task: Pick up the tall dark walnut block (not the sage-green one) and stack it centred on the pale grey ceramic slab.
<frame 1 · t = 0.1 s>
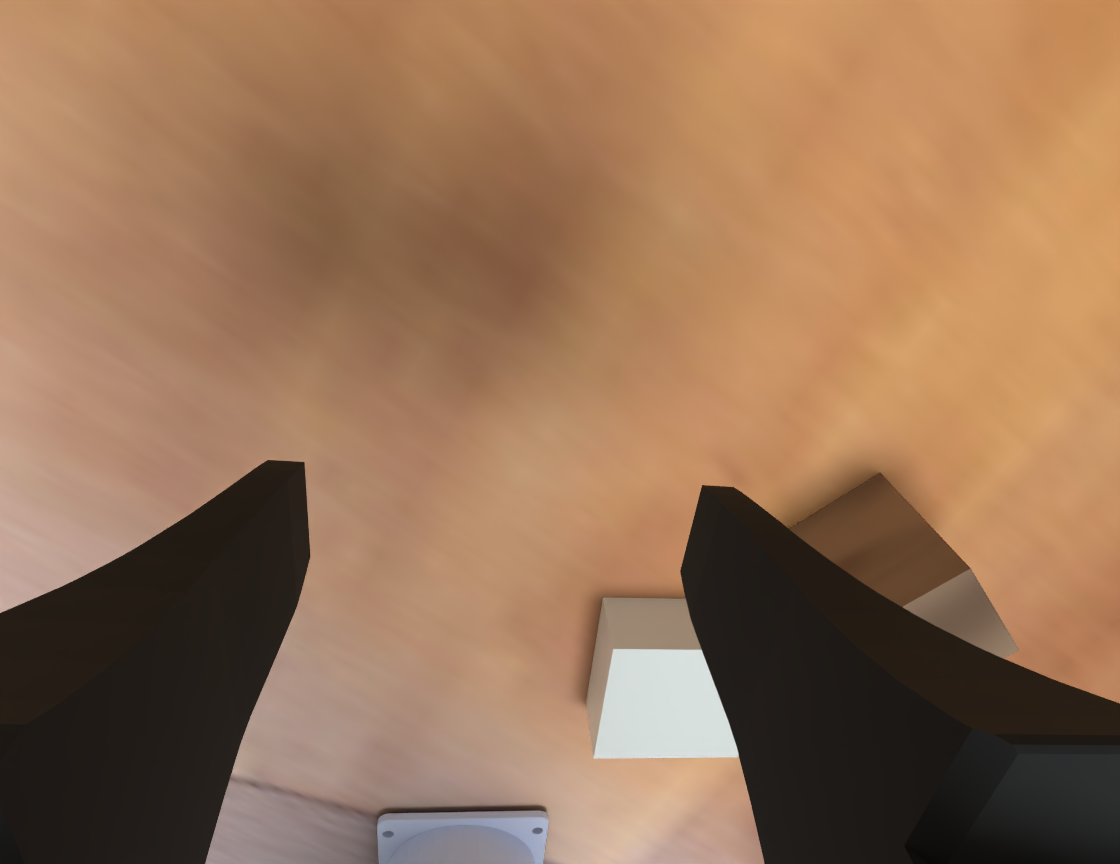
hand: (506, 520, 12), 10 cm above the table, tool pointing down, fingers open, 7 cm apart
walnut block: (851, 541, 27), on the table
ceramic slab: (662, 648, 29), on the table
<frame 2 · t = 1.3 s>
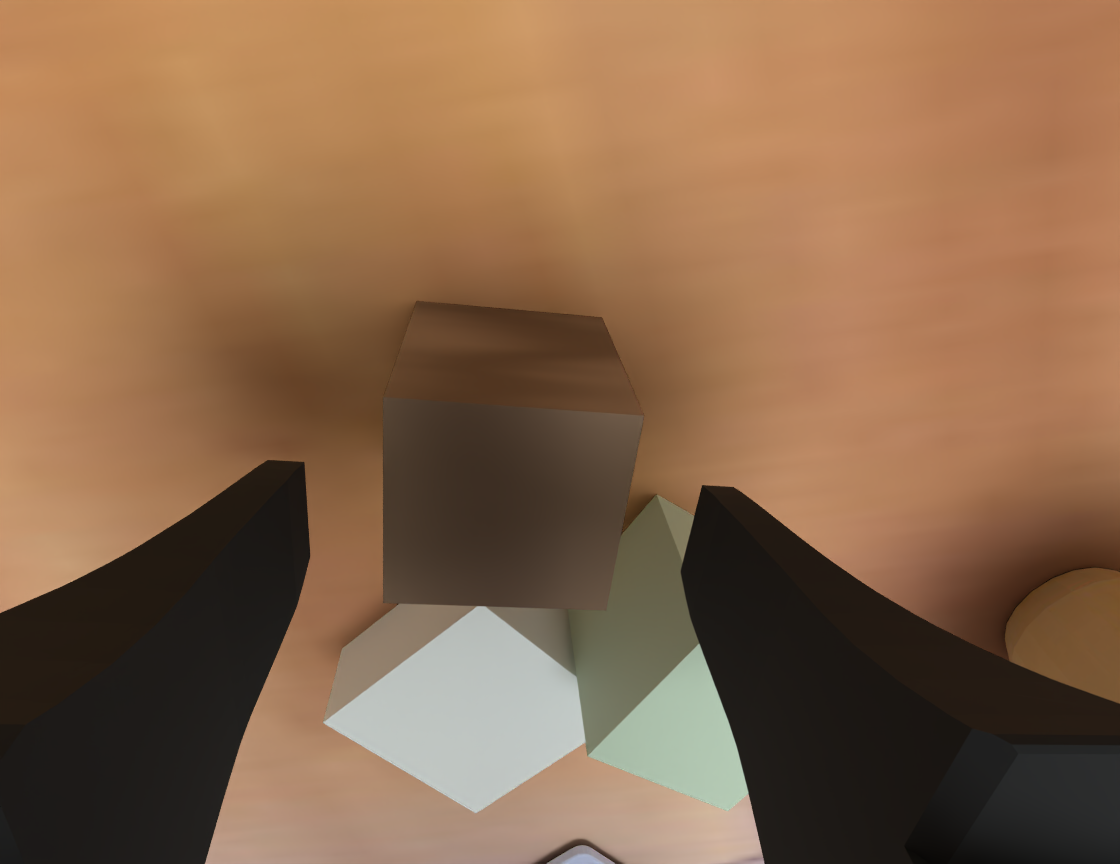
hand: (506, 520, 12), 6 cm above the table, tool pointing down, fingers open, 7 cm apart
walnut block: (503, 392, 18), on the table
ice cream cone: (1064, 613, 23), on the table
sage block: (667, 578, 21), on the table
ceramic slab: (480, 640, 22), on the table
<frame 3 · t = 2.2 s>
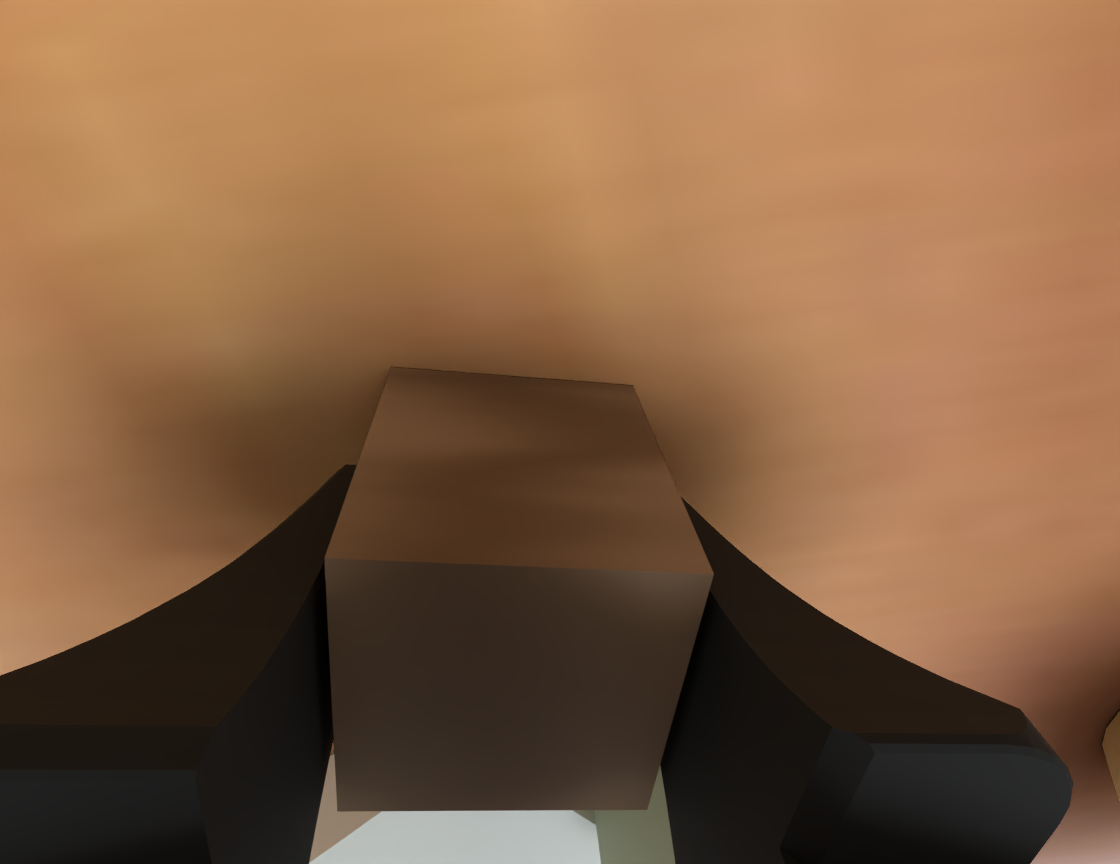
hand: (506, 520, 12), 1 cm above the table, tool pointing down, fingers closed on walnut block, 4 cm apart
walnut block: (504, 479, 14), on the table, touching gripper
sage block: (704, 686, 17), on the table
ceramic slab: (476, 756, 18), on the table
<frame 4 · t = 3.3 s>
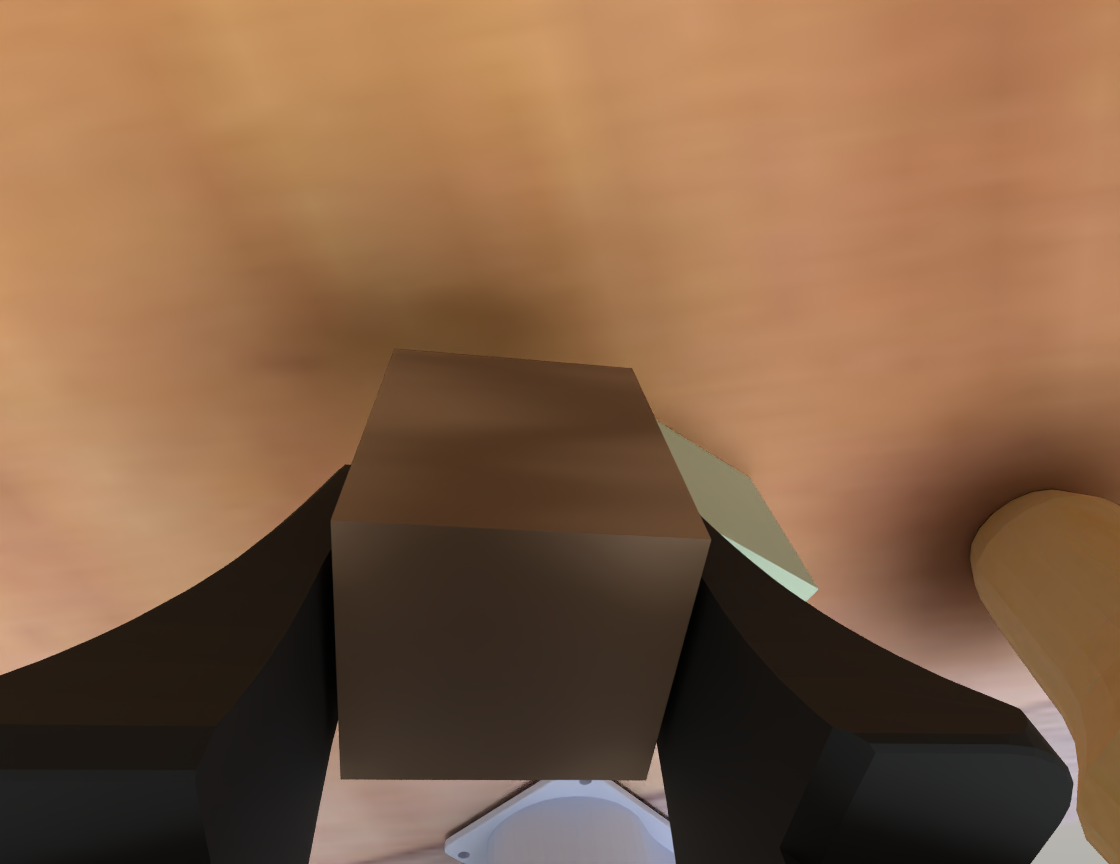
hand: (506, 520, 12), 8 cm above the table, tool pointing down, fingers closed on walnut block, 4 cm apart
walnut block: (505, 461, 14), point 7 cm above the table, touching gripper
ice cream cone: (1025, 535, 25), on the table
sage block: (655, 496, 23), on the table
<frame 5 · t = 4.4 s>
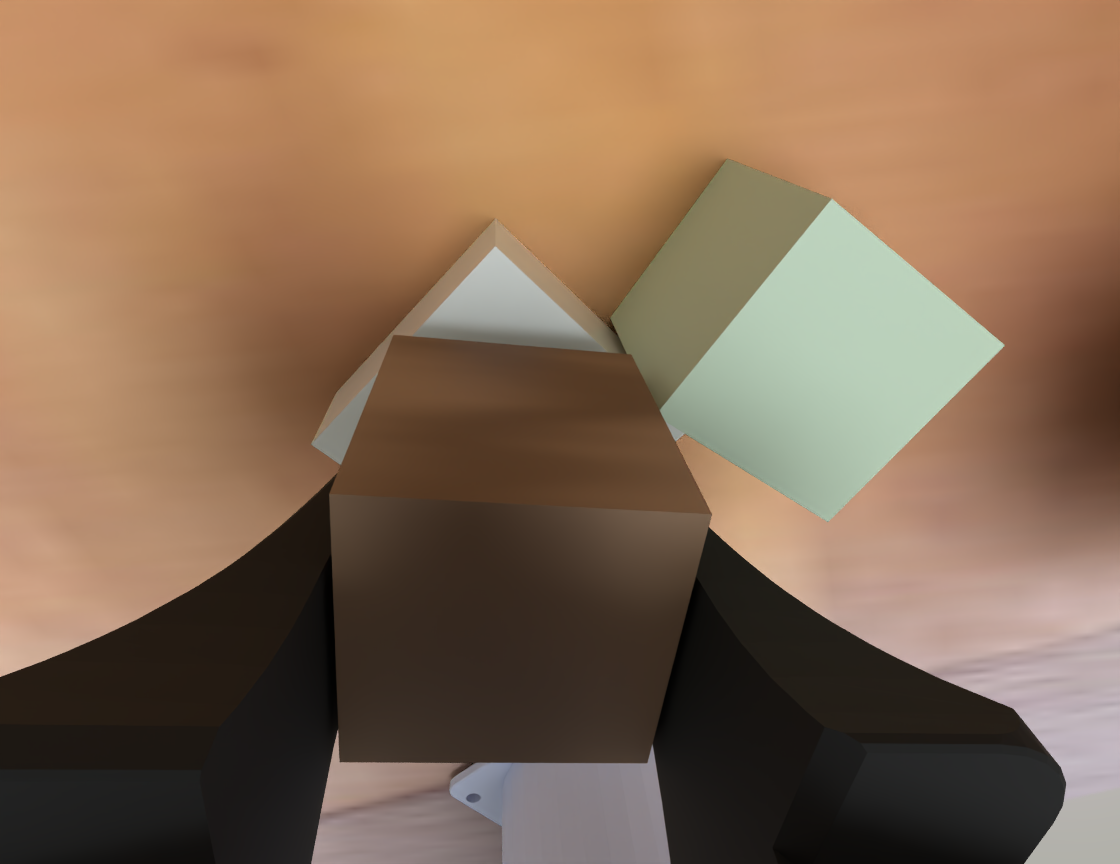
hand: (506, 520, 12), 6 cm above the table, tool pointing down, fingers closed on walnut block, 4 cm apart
walnut block: (505, 449, 14), point 4 cm above the table, touching gripper
sage block: (734, 292, 17), on the table
ceramic slab: (503, 382, 18), on the table
when the fingers open (6 cm above the table, at t = 4.6 s): walnut block drops 1 cm, resting on ceramic slab.
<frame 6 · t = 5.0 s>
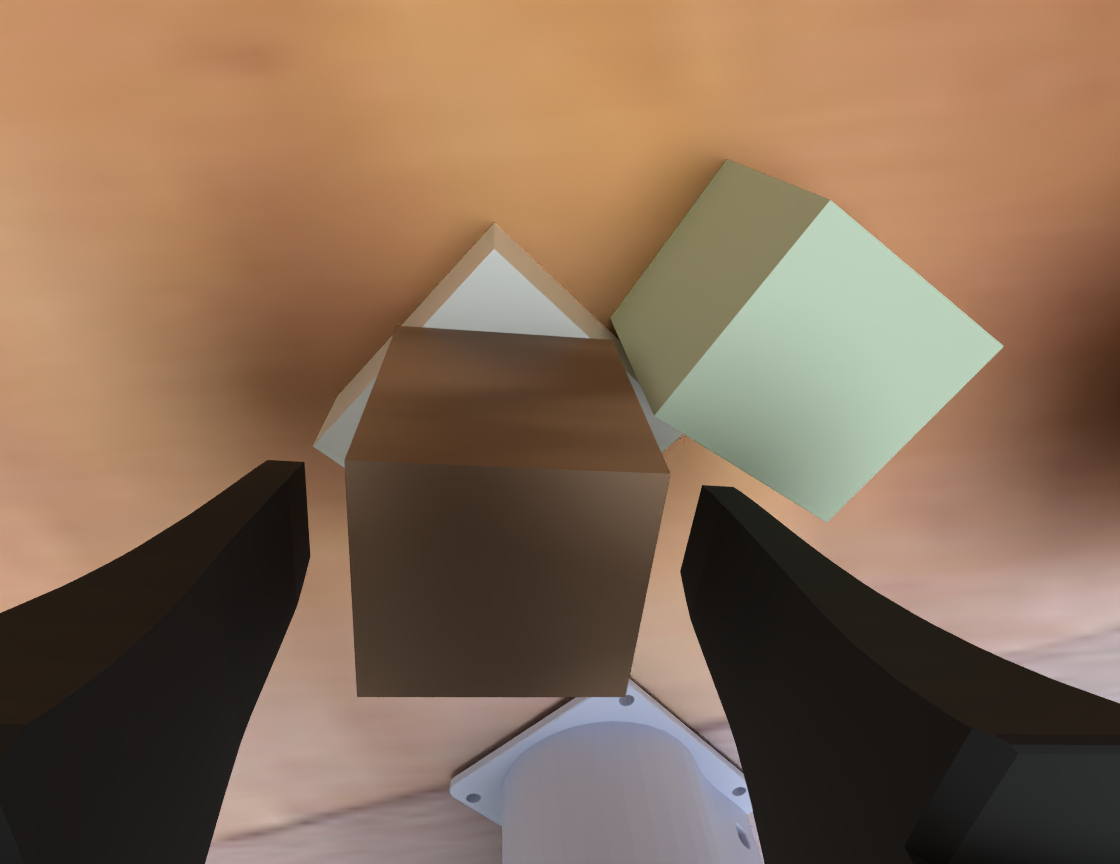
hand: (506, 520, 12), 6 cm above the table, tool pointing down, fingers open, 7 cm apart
walnut block: (500, 428, 15), point 3 cm above the table, touching ceramic slab
sage block: (734, 292, 17), on the table
ceramic slab: (503, 383, 18), on the table, touching walnut block
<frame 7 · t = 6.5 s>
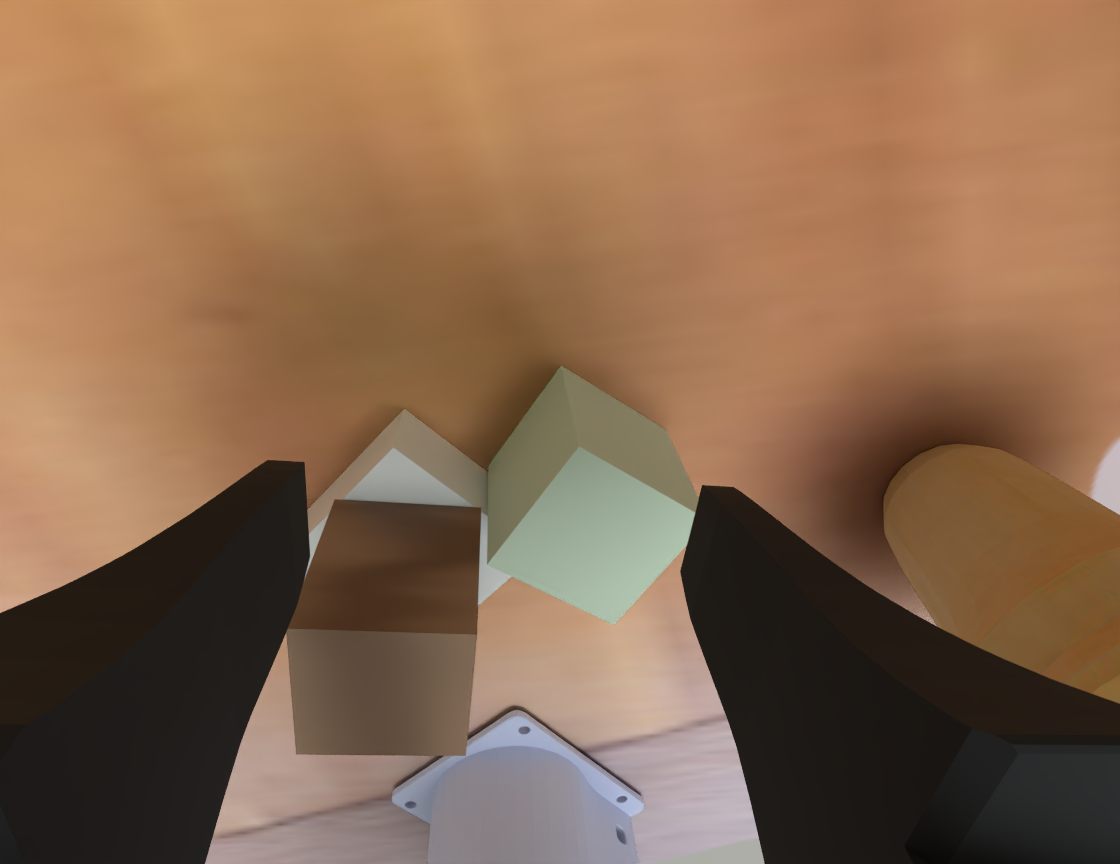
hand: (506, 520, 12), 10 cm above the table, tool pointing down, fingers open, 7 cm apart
walnut block: (407, 560, 22), point 3 cm above the table
ice cream cone: (935, 489, 26), on the table
sage block: (577, 446, 24), on the table
ceramic slab: (418, 508, 25), on the table
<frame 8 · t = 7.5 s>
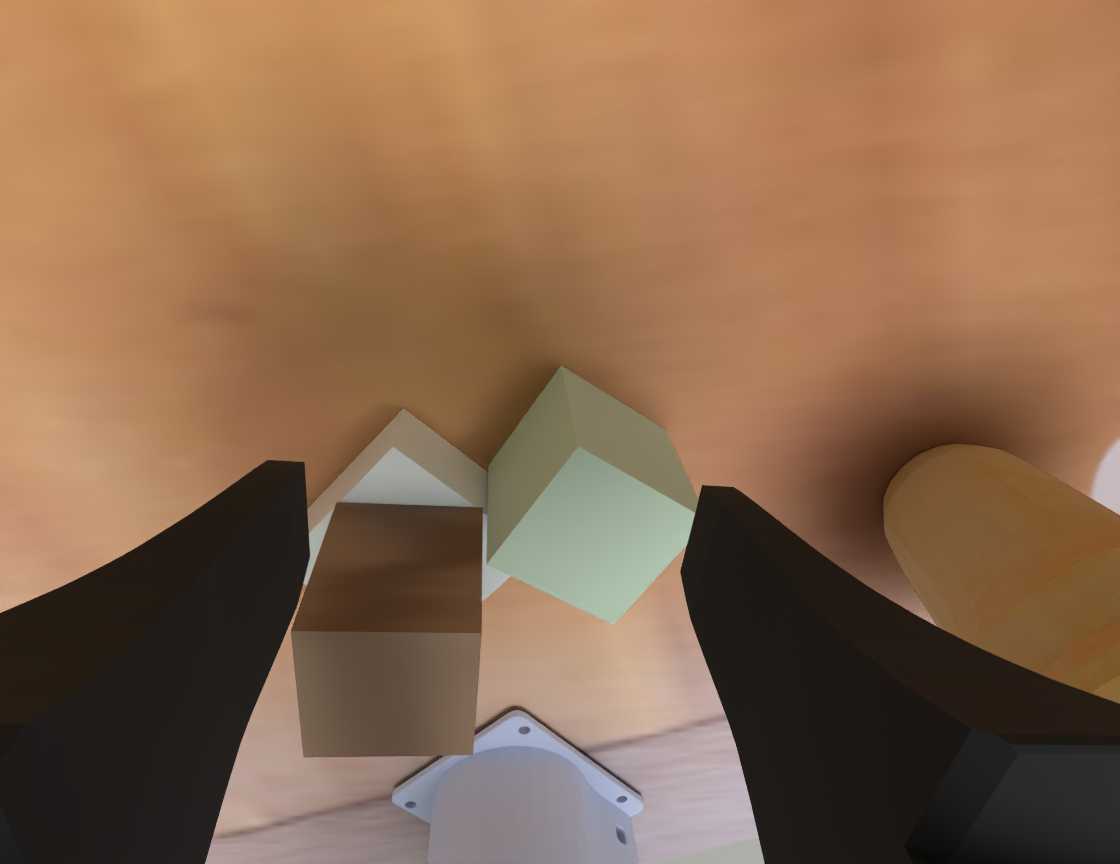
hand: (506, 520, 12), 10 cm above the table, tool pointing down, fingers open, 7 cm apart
walnut block: (410, 562, 22), point 3 cm above the table, touching ceramic slab
ice cream cone: (935, 489, 26), on the table
sage block: (577, 446, 24), on the table
ceramic slab: (417, 508, 25), on the table, touching walnut block
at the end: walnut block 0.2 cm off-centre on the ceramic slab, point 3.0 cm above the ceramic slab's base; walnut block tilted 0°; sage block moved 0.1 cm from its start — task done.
